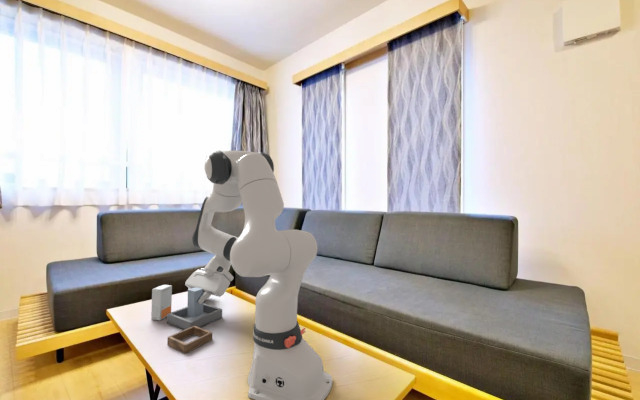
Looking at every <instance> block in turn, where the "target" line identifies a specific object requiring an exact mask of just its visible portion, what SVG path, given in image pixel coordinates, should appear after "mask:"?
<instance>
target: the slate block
mask: <svg viewBox="0 0 640 400" xmlns="http://www.w3.org/2000/svg"><path fill="white" fill-rule="evenodd" d="M203 294H204V290H203V289H201V288H197V287H195V288H192V289H187V307H188V310H187V316H190V317H193V318H195V317H197V316H200V315H202V314H203V303H204V302H203V303H202V304H199V303H197V300H198V298H199V297H201V296H203Z"/></svg>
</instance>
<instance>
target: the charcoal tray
mask: <svg viewBox="0 0 640 400" xmlns="http://www.w3.org/2000/svg"><path fill="white" fill-rule="evenodd" d="M187 310H188V306H185V307H182V308H179V309H177V310H175V311H171V313H168V314H167V317H166V324H168V325H170V326H173V327H176V328H178V329H180V330H182V331H183V330H185V329H187V328H190V327H192V326H194V325H195V326H197V327H200V328H203V327H205V326H207V325H209V324H212V323H214V322H216V321H218V320H221V319H223V309H222V308H219V307H217V306H214V305H210V304H208V303H204V302H203V314H202V315H200V316H197V317H195V318H193V317H190V316H187Z"/></svg>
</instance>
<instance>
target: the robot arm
mask: <svg viewBox="0 0 640 400" xmlns="http://www.w3.org/2000/svg"><path fill="white" fill-rule="evenodd" d="M204 161H205V162H204V172H205V175H206V178H207V180H208V181H210V182H211V183H212V184H213V185H212V186H213V187H212V193H210V194H208V195H206V196H205V198H204V200H203V201H202V205H201V208H200V210H199V214H198V215H199V216H198V219H197V222H196V223H197V224H196V227H195V228H194V231H193V234H192V236H191V240H192V244H193V246H194V248H196V249H199V250H202V251H204V252H207V253H210V254H212V255H214V256H212V257H211V258H210V259H209V261H208V262H207V264H206V265H205V266H204V267H201V268H199V269H196V270H195V271H194V272H192V273H191V275H190V276H189V277H188V278H187V279H186V281H185V284H184V286H186V287H187V288H190V289H192V288H195V287H197V288H201V289H203V290H204V295H203V296H201V297H199V298H198V300H197V303H199V304H202V303H204V302H205V301H206V300H205V299H207V298H208V297H209V296H210V295H211V296H215V297H219V298H221V297H222V296H223V295H224V294H225V293H226V292H227V290H228V289H229V286H230V284H231V282H232V281H233V280H234V276H233V274H231V273H230V268H231V267H232V269H233V271H234V272H235V273H236V274H237V275H238V276H240V277H242V278H244V277H245V278H260V277H266V276H268V275H269V278H268V280H267V281H266V283H265V284H264V285H263V286H262V287H261V288H260V289H259V291H258V292H257V294H256V296H255V311H254V312H255V317H254V318H255V319H254V320H255V321H254V323H253V331H252V340H253V342H254V343H253V345H254V346H253V353H252V362H251V365H250V370H249V373H248V377H247V383H248V386H249V388H248V393H247V395H248V398H250V399H253V400H325V399H327V397H328V395H329V394H330V391H331V390H332V387H333V377H332V375H331V374H330V373H328V372H326V371H324V363H323V361H322V358H321V356H320V355H319V354H318V353H317V352H316V351H315V349H314V348H313V347H311V345H310V344H309V343H308V342H307V341H306V340H305V339H304V338H303V334H304V333H306V331H305V330H306V327H303V328H302V329H301V327H300V324H299V322H298V300H299V292H300V288H301V286H302V281H303V279H304V276H305V274H306V272H307V269H308V268H309V266H311V264H312V262H313V261H314V260H315V259H316V257H317V255H318V243H317V240H316V238H315V236H314V235H313V234H312V233H311V232H309V231H306V230H301V229H300V230H299V229H285V230H278V229H277V227H276V220H277V218H278V217H280V215H281V214H282V213H283V210H284V208H285V203H284V201H283V200H284V199H283V197H282V193H281V190H280V187H279V184H278V182H277V179H276V176H275V173H274V171H275V164H274V161H273V159H272V157H271V156H270V155H269V154H267V153H265V152H261V151H258V152H254V151H247V150H246V151H245V150H235V149H234V150H223V151H222V150H216V151H210V152H209V153H208V154H207V156H206V158H205V160H204ZM241 205H242V208H243V213H244V225H243V228H242V229H243V230H242V232H241V233H240V235H239V236H238V237H237V236H236V235H231V234H230V233H226V232H224V231H222V230H219V229H216V228H215V227H214V226H213V225H212V222H213V220H214V215H215V213H229V212H232V211H234V210H237V209H238V208H239V207H240V206H241ZM211 296H210V297H211ZM210 297H209V298H210ZM209 298H208V299H209ZM208 299H207V300H208ZM204 300H205V301H204Z"/></svg>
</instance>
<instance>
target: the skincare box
mask: <svg viewBox="0 0 640 400" xmlns="http://www.w3.org/2000/svg"><path fill="white" fill-rule="evenodd" d="M172 293H173V285H171V284H170V285H169V284H162V285H158V286H157V287H154V288H152V289H151V312H150V313H151V316H150V319H151V320H155V321H162V320H163V319H165V318H167V314H168V313H171V312H172V301H173V298H172V295H173V294H172Z"/></svg>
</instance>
